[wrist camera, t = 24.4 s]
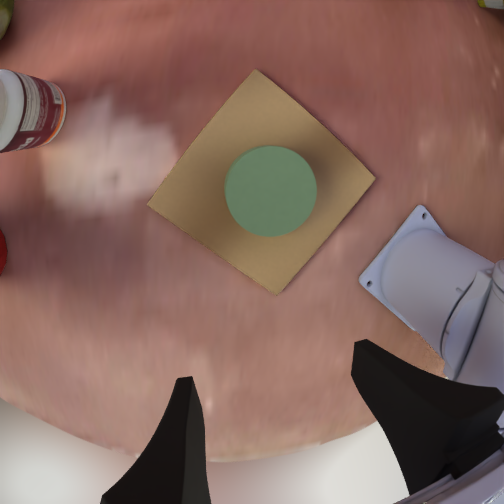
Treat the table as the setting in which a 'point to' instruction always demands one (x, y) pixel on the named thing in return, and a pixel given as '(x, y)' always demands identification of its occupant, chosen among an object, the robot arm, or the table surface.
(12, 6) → the fruit
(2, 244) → the plastic cup
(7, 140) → the pill bottle
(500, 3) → the alarm clock
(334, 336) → the table surface
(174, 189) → the plate
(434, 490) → the robot arm
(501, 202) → the table surface
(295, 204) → the jar lid
